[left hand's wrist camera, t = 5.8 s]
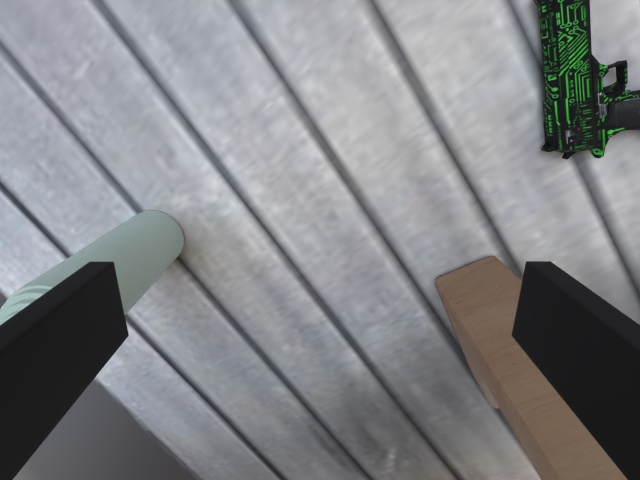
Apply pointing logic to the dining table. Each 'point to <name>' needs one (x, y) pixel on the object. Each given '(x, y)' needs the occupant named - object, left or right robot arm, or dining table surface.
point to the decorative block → (517, 374)
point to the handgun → (580, 84)
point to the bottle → (115, 260)
